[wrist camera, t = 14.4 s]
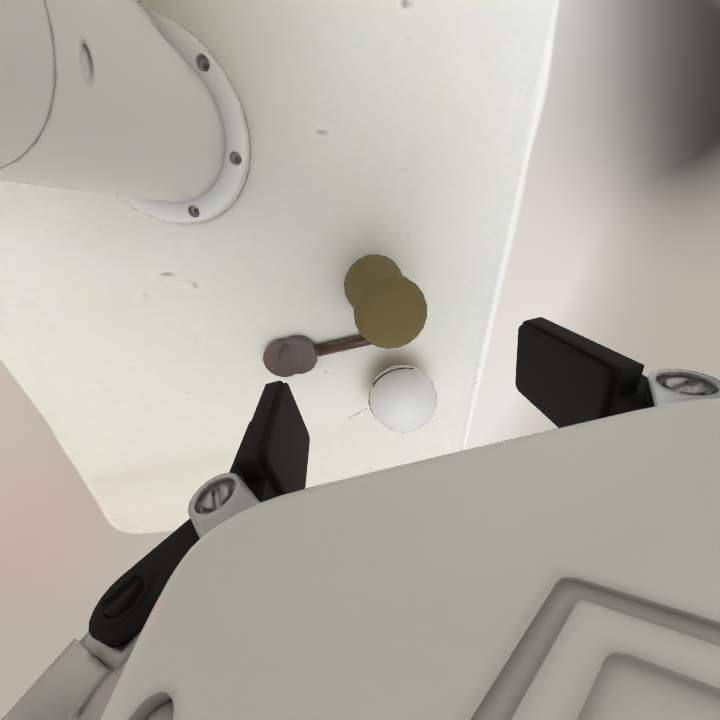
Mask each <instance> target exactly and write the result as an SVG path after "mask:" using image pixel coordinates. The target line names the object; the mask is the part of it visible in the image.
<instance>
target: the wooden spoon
mask: <svg viewBox="0 0 720 720" xmlns="http://www.w3.org/2000/svg"><path fill="white" fill-rule="evenodd" d="M371 344H372V343H370V342H368V341H367V340H366V339H365V338H364V337H363V336H362V335H361V336H356V337H352V338H348V339H343V340H339V341H334V342H330V343H326V344H321V345H317V346H315V344H314V343H313V342H312V341H311V340H310V339H308V338H306V337H303V336H291V337H289V338H287V339H278V340H275V341H273V342H271V343H270V344H269V345H268V347H267V348H266V350H265V352H264V356H263V360H264V364H265V366H266V368H267V369H268V370H269V371H270V372H271V373H273V374H275V375H277V376H281V377H288V376H292V375H294V374H302V373H306V372H308V371H310V370H311V369H312V368H313V367H314V366H315V364H316V362H317V356H322V355H327V354H331V353H336V352H340V351H345V350H349V349H353V348H358V347H362V346H367V345H371Z"/></svg>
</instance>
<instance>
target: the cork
mask: <svg viewBox="0 0 720 720" xmlns="http://www.w3.org/2000/svg"><path fill="white" fill-rule="evenodd" d="M344 287H345V295H346V297H347V299H348V301H349V303H350V304H351V305H352V307H353V308H354V318H355V324H356V326H357V328H358V330H359V333H360V334H361V335H362V336H363V337H364V338H365V339H366V340H367V341H368V342H370V343H372V344H373V345H375V346H377V347H381V348H387V349H390V348H398V347H401V346H403V345H406V344H408V343H409V342H411V341H412V340H413V339H414V338H416V337H417V336H418V334H419V333H420V332H421V330H422V329H423V327H424V324H425V321H426V318H427V304H426V301H425V298H424V295H423V293H422V291H421V290H420V289H419V287H418V286H417V285H416V284H415V283H413V282H412V281H410V280H408V279H407V278H405V277H403V276H402V273H401V271H400V269H399V268H398V266H397V265H396V264H395V263H394V262H393V261H392V260H390V259H389V258H387V257H385V256H380V255H368V256H365V257H363V258H361V259H359V260H357V261H356V262H355V263H354V264H353V265H352V266H351V267H350V269H349V271H348V273H347V275H346V278H345V283H344Z"/></svg>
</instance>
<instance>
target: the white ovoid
mask: <svg viewBox="0 0 720 720" xmlns="http://www.w3.org/2000/svg"><path fill="white" fill-rule="evenodd" d="M436 405H437V394H436V390H435V388H434V385H433V382H432V380H431V379H430V378H429V377H428V376H427V375H426V374H425V373H424V372H423V371H422V370H420V369H418V368H416V367H414V366H408V365H396V366H392V367H389V368H387V369H385V370H384V371H382V372H381V373H380V374H379V375H378V376H377V377H376V378H375V380H374V381H373V383H372V385H371V388H370V392H369V406H370V409H371V411H372V413H373V414H374V416H375V418H376V420H377V421H378V422H380V423H381V424H382V425H383V426H384V427H386V428H387V429H390V430H392V431H394V432H401V433H405V432H412V431H415V430H417V429H420V428H421V427H423V426H424V425H426V424H427V423H428V422H429V420H430V419H431V418H432V416H433V414H434V412H435V409H436ZM366 409H367V408H366ZM364 410H365V409H364ZM361 412H362V411H361ZM359 413H360V412H359ZM357 414H358V413H357ZM355 415H356V414H355ZM355 415H354V416H355ZM352 417H353V416H352ZM350 418H351V417H350ZM348 419H349V418H348Z"/></svg>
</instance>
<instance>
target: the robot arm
mask: <svg viewBox="0 0 720 720" xmlns="http://www.w3.org/2000/svg"><path fill="white" fill-rule="evenodd" d="M206 65H209V69H208V70H207V71H206V72H205V66H206ZM237 157H240V158H241V163H239V164H237V162H236V158H237ZM249 157H250V146H249V133H248V129H247V124H246V120H245V116H244V112H243V109H242V107H241V104H240V102H239V99H238V97H237V94H236V92H235V90H234V88H233V87H232V85H231V83H230V81H229V79H228V78H227V76H226V74H225V73H224V71H223V70H222V69H221V67H220V66H219V64H218V63H217V61H216V60H215V59H214V57H213V56H212V55H211V54H210V53H209V52H208V51H207V49H206V48H205V47H204V46H203V45H202V44H201V43H200V41H199V40H198V39H196V38H195V37H194V36H193V35H192V34H190V33H189V32H188V31H187V30H186V29H184V28H183V27H182V26H181V25H179V24H178V23H176V22H174V21H173V20H171V19H169V18H167V17H166V16H164V15H162V14H160V13H158V12H155V11H152V10H149V9H146V8H143V7H141V6H140V5H139V4H138V3H137V2H136V0H0V180H2V181H10V182H18V183H25V184H33V185H41V186H49V187H57V188H65V189H73V190H81V191H89V192H96V193H104V194H112V195H116V196H117V197H118V198H120V199H121V200H122V201H124V202H125V203H127V204H128V205H130V206H131V207H132V208H134V209H136V210H138V211H140V212H142V213H144V214H146V215H147V216H149V217H152V218H155V219H159V220H162V221H165V222H171V223H179V224H193V223H199V222H204V221H208V220H210V219H212V218H214V217H217V216H219V215H220V214H221V213H223V212H224V211H225V210H227V209H228V208H229V207H230V206H231V205H232V203H233V202H234V201H235V200H236V199H237V197H238V196H239V194H240V192H241V190H242V188H243V186H244V183H245V180H246V176H247V172H248V169H249ZM196 209H198V210H199V215H198V214H197V213H196ZM643 368H644V365H643V364H641V363H638V362H636V361H634V360H632V359H630V358H628V357H626V356H623V355H621V354H619V353H617V352H615V351H613V350H611V349H609V348H606V347H604V346H602V345H600V344H597V343H596V342H594V341H591V340H589V339H587V338H585V337H583V336H581V335H579V334H576V333H574V332H572V331H570V330H568V329H566V328H563V327H561V326H559V325H557V324H555V323H553V322H551V321H549V320H546V319H544V318H542V317H539V318H535V319H531V320H527V321H524V322H523V324H522V325H521V326H520V327H519V330H518V347H517V365H516V387H517V389H518V391H519V392H520V393H521V394H523V395H524V396H525V397H526V398H527V399H528V400H529V401H530V402H531V403H532V404H533V405H534V406H536V407H537V408H538V409H539V410H540V411H541V412H542V413H543V414H544V415H545V416H546V417H548V418H549V419H550V420H551V421H552V422H553V423H554V424H555V425H556V426H557V427H558V428H557V429H553V430H548V431H544V432H540V433H536V434H532V435H527V436H523V437H519V438H515V439H510V440H506V441H502V442H497V443H493V444H489V445H485V446H480V447H476V448H472V449H468V450H463V451H459V452H455V453H451V454H446V455H442V456H438V457H434V458H430V459H425V460H421V461H417V462H413V463H408V464H404V465H400V466H396V467H392V468H388V469H383V470H379V471H375V472H371V473H367V474H363V475H359V476H354V477H350V478H346V479H342V480H338V481H334V482H330V483H325V484H321V485H317V486H314V487H310V488H306V489H305V484H306V474H307V463H308V453H309V442H310V439H309V434H308V431H307V428H306V426H305V424H304V421H303V419H302V416H301V414H300V412H299V409H298V407H297V404H296V402H295V400H294V397H293V395H292V392H291V390H290V388H289V385H288V384H287V383H283V382H282V381H277V382H272V383H268V384H266V385H265V388H264V390H263V393H262V395H261V398H260V401H259V403H258V406H257V408H256V411H255V413H254V416H253V418H252V421H250V423H249V425H248V427H247V430H246V432H245V435H244V437H243V440H242V442H241V445H240V447H239V450H238V452H237V455H236V457H235V460H234V462H233V465H232V467H231V470H230V472H229V473H225V474H221V475H218V476H216V477H214V478H212V479H211V480H209V481H207V482H206V483H205V484H204V485H203V486H201V487H200V488H199V489H198V491H197V492H196V493H195V494H194V496H193V497H192V499H191V501H190V503H189V507H188V513H189V516H190V519H189V520H188V521H186V522H185V523H184V524H183V525H182V526H180V527H179V528H178V529H177V530H176V531H175V532H173V533H172V534H171V535H170V536H169V537H168V538H166V539H165V540H164V541H163V542H161V543H160V544H159V545H158V546H157V547H156V548H154V549H153V550H152V551H151V552H150V553H149V554H147V555H146V556H145V557H144V558H143V559H142V560H140V561H139V562H138V563H137V564H135V565H134V566H133V567H132V568H131V569H130V570H128V571H127V572H126V573H125V574H124V575H122V576H121V577H120V578H119V579H118V580H117V581H116V582H115V583H114V584H113V585H112V586H111V587H110V588H109V589H108V590H107V591H106V593H105V594H104V595H103V597H102V598H101V599H100V601H99V602H98V604H97V606H96V607H95V609H94V611H93V613H92V616H91V618H90V621H89V631H88V633H87V634H86V635H85V636H84V637H83V638H82V639H81V640H80V641H78V640H77V639H74V640H73V641H72V642H71V643H70V644H69V645H68V646H67V647H66V648H65V650H64V651H63V652H62V653H61V654H60V655H59V656H58V657H57V659H56V660H55V661H54V662H53V663H52V664H51V665H50V666H49V667H48V669H47V670H46V671H45V672H44V673H43V674H42V675H41V676H40V677H39V679H38V680H37V681H36V682H35V683H34V684H33V685H32V686H31V687H30V689H29V690H28V691H27V692H26V693H25V694H24V695H23V697H21V699H20V700H19V701H18V702H17V703H16V704H15V705H14V706H13V707H12V709H11V710H10V711H9V712H8V713H7V714H6V715H5V716H4V717H3V719H2V720H720V381H719V380H718V379H716V378H714V377H711V376H708V375H706V374H702V373H699V372H695V371H688V370H682V369H662V370H657V371H654V372H652V373H651V374H650V375H649V377H648V378H647V377H646V376H644V375H642V372H643Z"/></svg>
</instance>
